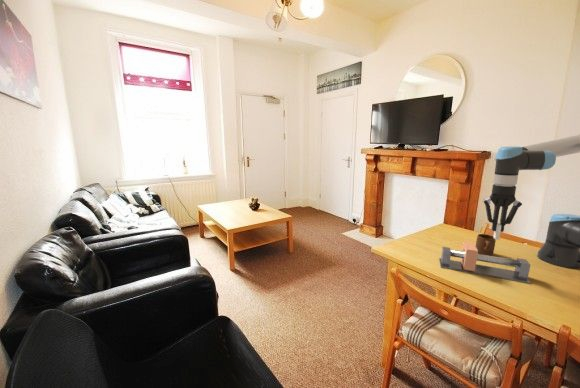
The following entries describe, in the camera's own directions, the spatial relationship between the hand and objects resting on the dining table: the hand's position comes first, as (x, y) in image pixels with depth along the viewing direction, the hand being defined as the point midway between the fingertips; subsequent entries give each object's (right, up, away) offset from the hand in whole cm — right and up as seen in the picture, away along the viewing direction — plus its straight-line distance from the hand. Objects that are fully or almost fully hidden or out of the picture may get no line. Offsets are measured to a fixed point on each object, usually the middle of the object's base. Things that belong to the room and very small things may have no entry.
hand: (496, 238), depth 111 cm
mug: (+9, -12, +19) cm, 25 cm away
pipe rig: (-3, -15, +5) cm, 16 cm away
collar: (-8, -14, +7) cm, 17 cm away
